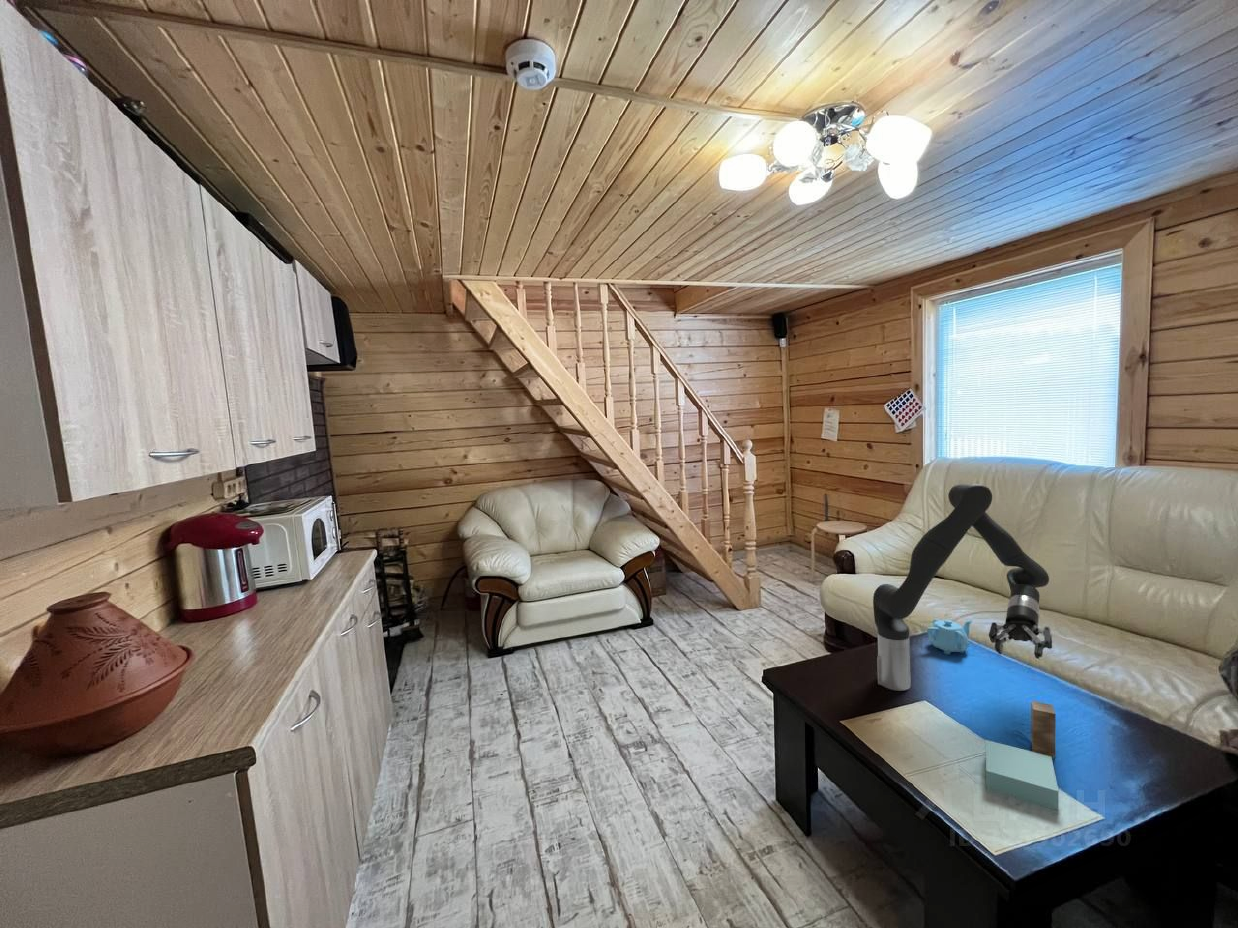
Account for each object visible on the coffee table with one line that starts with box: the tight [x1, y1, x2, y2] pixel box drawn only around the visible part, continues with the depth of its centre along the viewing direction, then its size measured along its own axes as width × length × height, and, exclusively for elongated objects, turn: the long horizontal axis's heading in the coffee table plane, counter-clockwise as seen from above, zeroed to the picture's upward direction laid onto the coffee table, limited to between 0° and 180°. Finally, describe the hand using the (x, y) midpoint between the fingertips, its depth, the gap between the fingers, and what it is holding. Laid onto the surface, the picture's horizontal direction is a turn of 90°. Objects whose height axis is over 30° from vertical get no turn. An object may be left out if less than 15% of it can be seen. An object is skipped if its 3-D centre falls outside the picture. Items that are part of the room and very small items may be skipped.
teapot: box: [926, 618, 974, 655], centre depth 185 cm, size 13×14×11 cm
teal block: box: [985, 739, 1060, 811], centre depth 120 cm, size 13×13×5 cm
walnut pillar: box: [1030, 700, 1057, 759], centre depth 129 cm, size 4×4×12 cm
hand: (1017, 654), depth 141 cm, fingers open, 8 cm apart
